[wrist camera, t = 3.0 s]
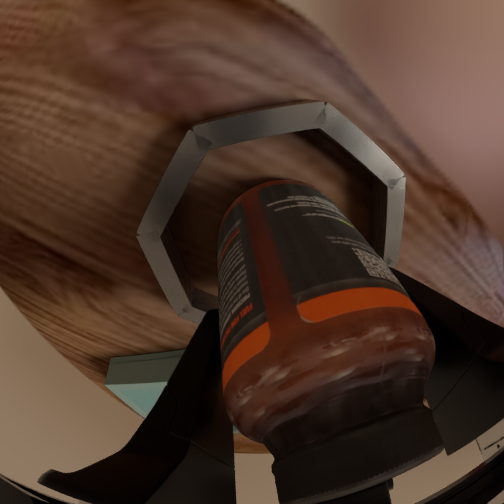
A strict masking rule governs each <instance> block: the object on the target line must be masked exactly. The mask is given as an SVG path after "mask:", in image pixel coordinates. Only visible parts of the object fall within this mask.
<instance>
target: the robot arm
mask: <svg viewBox="0 0 504 504" xmlns="http://www.w3.org/2000/svg"><path fill="white" fill-rule="evenodd" d="M388 268H389V269H390V271H391V272H392V273H393V275H394V276H395V277H396V279H397V280H398V281H399V283H400V284H401V286H402V287H403V288H404V290H405V291H406V292H407V293H408V295H409V297H410V299H411V300H412V302H413V304H414V305H415V306H416V307H417V309H418V310H419V312H420V313H421V315H422V316H423V318H424V319H425V321H426V323H427V325H428V327H429V328H430V330H431V332H432V334H433V338H434V341H435V361H434V364H433V367H432V370H431V372H430V376H429V378H428V380H427V381H426V385H425V389H424V395H425V397H426V399H427V402H428V404H429V407H430V409H431V410H432V414H433V417H434V420H435V422H436V425H437V428H438V431H439V433H440V435H441V437H442V440H443V443H444V448H445V451H446V453H447V455H451V454H452V453H454V452H456V451H457V450H459V449H461V448H462V447H464V446H466V445H467V444H468V443H470V442H472V441H473V440H475V439H476V441H477V444H478V446H479V449H480V451H481V454H482V456H483V459H484V462H483V463H481V464H480V465H479V466H477V467H476V468H475V469H473V470H472V471H470V472H469V473H467V474H466V475H464V476H463V477H461V478H460V479H458V480H457V481H455V482H453V483H452V484H450V485H448V486H447V487H445V488H443V489H442V490H440V491H438V492H436V493H434V494H433V495H431V496H429V497H427V498H425V499H423V500H421V501H419V502H417V503H415V504H504V328H503V327H501V326H499V325H497V324H495V323H493V322H491V321H489V320H487V319H485V318H483V317H481V316H479V315H477V314H475V313H474V312H472V311H470V310H468V309H467V308H465V307H463V306H461V305H460V304H458V303H456V302H454V301H453V300H451V299H449V298H447V297H446V296H444V295H442V294H440V293H438V292H437V291H435V290H433V289H431V288H429V287H428V286H426V285H424V284H422V283H420V282H419V281H417V280H415V279H413V278H411V277H409V276H407V275H405V274H404V273H402V272H400V271H398V270H396V269H394V268H392V267H388ZM234 468H235V466H234V440H233V424H232V422H231V421H230V418H229V416H228V414H227V411H226V407H225V403H224V397H223V381H222V366H221V350H220V326H219V309H212V310H208V311H207V312H206V314H205V315H204V317H203V319H202V321H201V323H200V324H199V326H198V328H197V330H196V331H195V333H194V335H193V337H192V339H191V340H190V342H189V344H188V346H187V348H186V349H185V351H184V353H183V355H182V357H181V358H180V360H179V362H178V364H177V366H176V368H175V369H174V371H173V373H172V375H171V377H170V378H169V380H168V382H167V385H166V386H165V387H164V389H163V391H162V393H161V395H160V396H159V398H158V400H157V401H156V403H155V405H154V406H153V408H152V409H151V411H150V412H149V414H148V415H147V417H146V418H145V420H144V421H143V422H142V424H141V425H140V427H139V428H138V430H137V431H136V432H135V434H134V435H133V436H132V438H131V439H130V441H129V442H128V443H127V444H126V445H125V447H123V448H122V449H121V450H120V451H118V452H117V453H115V454H113V455H111V456H109V457H107V458H105V459H103V460H100V461H98V462H96V463H94V464H92V465H90V466H88V467H85V468H83V469H81V470H78V471H75V472H71V473H62V472H59V471H56V470H53V469H51V470H49V471H47V472H45V473H44V474H42V475H41V476H40V478H39V479H38V481H37V482H38V483H40V484H41V485H43V486H46V487H48V488H50V489H53V490H55V491H58V492H60V493H62V494H65V495H68V496H70V497H73V498H76V499H79V504H236V488H235V470H234ZM392 489H393V479H392V478H391V479H389V480H386V481H384V482H382V483H379V484H377V485H374V486H371V487H369V488H366V489H363V490H360V491H357V492H354V493H351V494H348V495H345V496H342V497H338V498H335V499H331V500H327V501H324V502H319V503H315V504H391V499H390V494H389V490H392ZM0 504H73V503H70V502H66V501H64V500H61V499H58V498H55V497H52V496H49V495H47V494H44V493H41V492H39V491H37V490H34V489H32V488H29V487H27V486H25V485H23V484H21V483H18V482H16V481H14V480H12V479H10V478H8V477H6V476H4V475H2V474H0Z"/></svg>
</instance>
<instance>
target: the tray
mask: <svg viewBox="0 0 504 504" xmlns="http://www.w3.org/2000/svg"><path fill="white" fill-rule="evenodd" d="M184 351H185V349H184V350H177V351H169V352H162V353H154V354H145V355H135V356H125V357H114V358H111V360H110V364H109V368H108V372H107V376H106V380H105V386H106V387H108V388H109V389H110V390H111V391H112V392H113V393H114V394H115V395H117V396H118V397H119V398H120V399H121V400H123V401H124V402H125V403H126V404H127V405H129V406H130V407H131V408H132V409H134V410H135V411H136V412H137V413H139V414H140V415H141V416H143V417H144V418H146V417H147V415H148V414H149V412H150V411H151V409H152V408H153V406H154V405H155V403H156V401H157V400H158V398H159V396H160V395H161V393H162V391H163V389H164V387H165V386H166V385H167V382H168V380H169V378H170V377H171V375H172V373H173V371H174V369H175V368H176V366H177V364H178V362H179V360H180V358H181V357H182V355H183V353H184ZM234 433H240V432H239V431H238V429H237V428H236V427H235V426H234V425H233V434H234Z"/></svg>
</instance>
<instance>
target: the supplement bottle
mask: <svg viewBox="0 0 504 504" xmlns="http://www.w3.org/2000/svg"><path fill="white" fill-rule="evenodd" d="M217 268H218V302H219V326H220V350H221V366H222V381H223V397H224V403H225V407H226V411H227V414H228V416H229V418H230V421H231V422H232V424H233V425H234V426H235V427H236V428H237V429H238V431H239V432H240V433H241V434H242V435H244V436H246V437H247V438H249V439H251V440H253V441H255V442H258V443H261V444H264V445H265V446H266V447H267V449H268V450H269V451H270V452H271V454H272V455H273V456H274V458H275V460H274V462H273V464H272V473H273V474H274V476H275V483H276V487H277V493H278V500H279V503H280V504H315V503H319V502H324V501H327V500H331V499H335V498H338V497H342V496H345V495H348V494H351V493H354V492H357V491H360V490H363V489H366V488H369V487H371V486H374V485H377V484H379V483H382V482H384V481H386V480H389V479H391V478H393V477H396V476H398V475H400V474H402V473H404V472H406V471H408V470H410V469H412V468H414V467H416V466H418V465H420V464H422V463H424V462H426V461H428V460H429V459H431V458H433V457H435V456H436V455H438V454H439V453H441V452H442V451H443V449H444V443H443V440H442V437H441V435H440V433H439V431H438V428H437V425H436V423H435V421H434V418H433V414H432V410H431V409H430V408H428V407H426V406H425V405H424V404H423V393H424V389H425V385H426V381H427V380H428V378H429V376H430V372H431V370H432V367H433V364H434V361H435V341H434V338H433V334H432V332H431V330H430V328H429V327H428V325H427V323H426V321H425V319H424V318H423V316H422V315H421V313H420V312H419V310H418V309H417V307H416V306H415V305H414V304H413V302H412V300H411V299H410V297H409V295H408V293H407V292H406V291H405V290H404V288H403V287H402V286H401V284H400V283H399V281H398V280H397V279H396V277H395V276H394V275H393V273H392V272H391V271H390V269H389V268H388V267H387V266H386V264H385V263H384V262H383V261H382V259H381V258H380V257H379V256H378V255H377V254H376V252H375V251H374V249H373V248H372V247H371V246H370V244H369V243H368V242H367V241H366V240H365V238H364V237H363V236H362V235H361V234H360V232H359V231H358V230H357V229H356V228H355V226H354V225H353V224H352V223H351V222H350V221H349V219H348V218H347V217H346V216H345V215H344V214H343V213H342V212H341V210H340V209H339V208H338V207H337V206H336V205H335V204H334V203H333V202H332V201H331V199H330V198H328V197H327V196H326V195H325V194H324V193H322V192H321V191H320V190H318V189H317V188H315V187H314V186H311V185H309V184H306V183H304V182H300V181H295V180H285V179H282V180H273V181H268V182H265V183H262V184H259V185H257V186H255V187H253V188H251V189H249V190H248V191H246V192H244V193H243V194H242V195H241V196H239V197H238V198H237V199H236V200H235V201H234V202H233V203H232V204H231V205H230V207H229V208H228V209H227V211H226V213H225V215H224V217H223V219H222V221H221V224H220V228H219V232H218V241H217Z"/></svg>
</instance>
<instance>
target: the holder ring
mask: <svg viewBox="0 0 504 504" xmlns="http://www.w3.org/2000/svg"><path fill="white" fill-rule="evenodd" d="M308 129H317V130H318V131H319V132H321V133H322V134H323V135H325V136H326V137H327V138H328V139H330V140H331V141H332V142H333V143H335V144H336V145H337V146H338V147H340V148H341V149H342V150H343V151H345V152H346V153H347V154H348V155H349V156H351V157H352V158H353V159H354V160H355V161H356V162H358V163H359V164H360V165H361V166H362V167H363V168H364V169H366V170H367V171H368V172H369V173H370V174H371V175H372V198H373V201H372V241H371V247H372V248H373V249H374V251H375V252H376V254H377V255H378V256H379V257H380V258H381V259H382V261H383V262H384V263H385V264H386V266H387V267H392V268H394V267H395V266H396V265H397V263H396V262H398V261H399V254H400V246H401V237H402V227H403V216H404V202H405V179H406V177H405V176H403V175H404V173H403V172H402V171H401V170H400V169H399V167H398V166H397V165H396V164H395V163H394V162H393V161H392V160H391V159H390V158H389V157H388V156H387V155H386V154H385V153H384V152H383V151H382V150H381V149H380V148H379V147H378V146H377V145H376V144H375V143H374V142H373V141H372V140H371V139H370V138H368V137H367V136H366V135H365V134H364V133H363V132H362V131H361V130H360V129H359V128H357V127H356V126H355V125H354V124H353V123H352V122H351V121H350V120H348V119H347V118H346V117H345V116H344V115H342V114H341V113H340V112H339V111H338V110H336V109H335V108H334V107H333V106H332V105H330V104H329V103H327V102H324V101H318V100H304V101H297V102H290V103H283V104H277V105H271V106H265V107H260V108H255V109H250V110H245V111H240V112H236V113H231V114H227V115H223V116H219V117H215V118H211V119H207V120H203V121H199V122H196V123H195V124H194V125H192V127H191V128H190V129H189V130H188V132H187V134H186V135H185V137H184V139H183V141H182V142H181V144H180V146H179V148H178V149H177V151H176V153H175V155H174V157H173V158H172V160H171V162H170V164H169V166H168V168H167V170H166V172H165V173H164V175H163V177H162V179H161V181H160V183H159V185H158V187H157V189H156V191H155V193H154V195H153V197H152V199H151V202H150V204H149V206H148V208H147V210H146V212H145V214H144V217H143V219H142V221H141V223H140V225H139V228H138V230H137V232H136V233H137V236H136V237H137V239H138V241H139V243H140V246H141V248H142V250H143V252H144V254H145V256H146V258H147V260H148V262H149V264H150V266H151V268H152V270H153V272H154V274H155V276H156V278H157V280H158V282H159V284H160V286H161V288H162V290H163V292H164V294H165V295H166V297H167V299H168V301H169V303H170V305H171V306H172V308H173V310H174V312H175V314H176V315H177V314H178V317H181V318H184V319H186V320H189V321H192V322H194V323H197V324H200V323H201V321H202V319H203V317H204V315H205V314H206V312H207V311H208V310H212V309H219V302H218V297H216V296H213V295H211V294H208V293H206V292H203V291H201V290H199V289H196V288H194V287H193V285H192V282H191V280H190V278H189V276H188V273H187V271H186V269H185V266H184V264H183V262H182V259H181V257H180V255H179V252H178V250H177V247H176V245H175V242H174V240H173V238H172V235H171V233H170V230H169V227H168V225H167V222H168V220H169V218H170V217H171V215H172V213H173V211H174V209H175V207H176V205H177V204H178V202H179V200H180V198H181V196H182V194H183V193H184V191H185V189H186V187H187V186H188V184H189V182H190V180H191V179H192V177H193V175H194V173H195V172H196V170H197V168H198V167H199V165H200V163H201V161H202V160H203V158H204V157H205V155H206V153H207V152H208V150H211V149H215V148H218V147H222V146H227V145H231V144H235V143H239V142H244V141H248V140H253V139H258V138H263V137H268V136H273V135H278V134H284V133H289V132H295V131H302V130H308Z"/></svg>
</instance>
